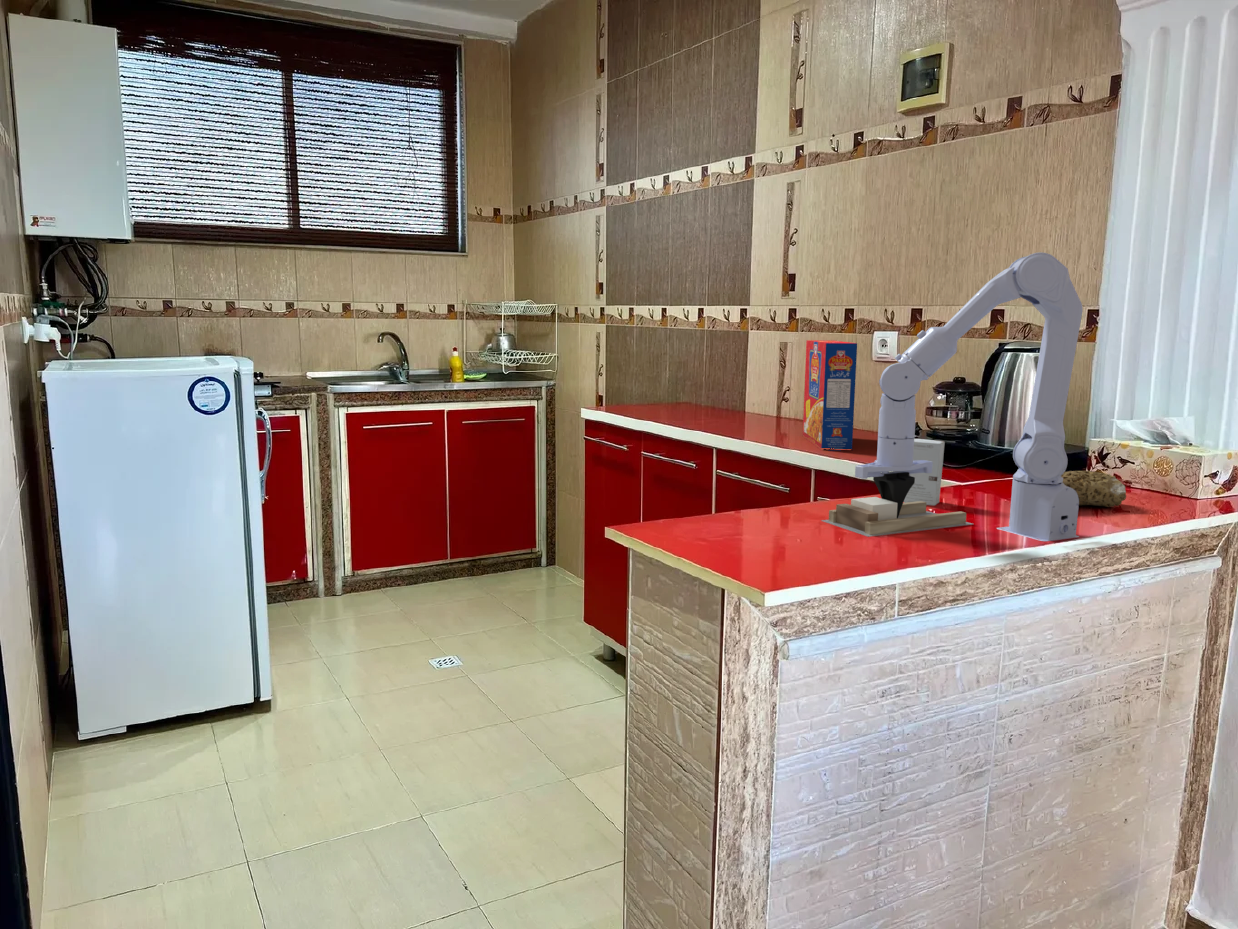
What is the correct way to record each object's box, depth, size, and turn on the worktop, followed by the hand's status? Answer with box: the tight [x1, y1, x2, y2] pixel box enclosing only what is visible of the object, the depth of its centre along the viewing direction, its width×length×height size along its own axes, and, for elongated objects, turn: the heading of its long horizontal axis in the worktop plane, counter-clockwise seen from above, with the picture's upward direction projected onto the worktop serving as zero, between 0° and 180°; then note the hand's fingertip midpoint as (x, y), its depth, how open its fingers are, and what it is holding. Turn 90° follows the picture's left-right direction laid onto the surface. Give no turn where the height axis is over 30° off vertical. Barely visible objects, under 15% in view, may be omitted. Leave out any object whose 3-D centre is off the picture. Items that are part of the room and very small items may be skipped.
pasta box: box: [802, 339, 858, 450], centre depth 244 cm, size 28×8×28 cm, turn 178°
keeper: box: [850, 496, 898, 520], centre depth 146 cm, size 5×5×4 cm
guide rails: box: [828, 501, 967, 535], centre depth 148 cm, size 10×20×3 cm, turn 114°
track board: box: [820, 510, 973, 538], centre depth 148 cm, size 12×22×1 cm, turn 114°
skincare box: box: [903, 438, 946, 506], centre depth 164 cm, size 6×4×12 cm
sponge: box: [1061, 470, 1127, 508], centre depth 164 cm, size 13×8×20 cm
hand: (891, 518), depth 147 cm, fingers closed
